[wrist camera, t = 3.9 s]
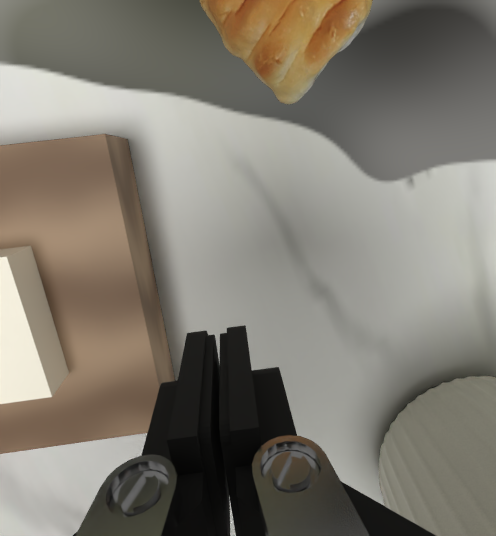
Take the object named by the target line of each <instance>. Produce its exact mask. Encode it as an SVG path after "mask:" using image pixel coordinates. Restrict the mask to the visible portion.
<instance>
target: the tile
mask: <svg viewBox="0 0 496 536" xmlns="http://www.w3.org/2000/svg"><path fill="white" fill-rule="evenodd" d="M68 374H69V371H68V368H67V365H66V361H65V358H64V355H63V351H62V348H61V345H60V341H59V338H58V335H57V331H56V328H55V325H54V321H53V318H52V315H51V311H50V308H49V305H48V301H47V298H46V295H45V291H44V288H43V285H42V281H41V278H40V275H39V271H38V268H37V265H36V261H35V258H34V255H33V251H32V248H31V246H23V247H15V248H7V249H0V404H5V403H12V402H19V401H27V400H34V399H41V398H48V397H52V396H53V395H54V394H55V392H56V391H57V389H58V388H59V386H60V385H61V384H62V382H63V381H64V379H65V378H66V377H67V375H68Z"/></svg>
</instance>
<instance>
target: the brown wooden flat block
mask: <svg viewBox="0 0 496 536" xmlns="http://www.w3.org/2000/svg"><path fill="white" fill-rule="evenodd" d="M23 246H31V248H32V251H33V255H34V258H35V261H36V265H37V268H38V271H39V275H40V278H41V281H42V285H43V288H44V291H45V295H46V298H47V301H48V305H49V308H50V311H51V315H52V318H53V321H54V325H55V328H56V331H57V335H58V338H59V341H60V345H61V348H62V351H63V355H64V358H65V361H66V365H67V368H68V371H69V374H68V375H67V377H66V378H65V379H64V381H63V382H62V384H61V385H60V386H59V388H58V389H57V391H56V392H55V394H54V395H53V396H52V397H48V398H41V399H34V400H27V401H19V402H12V403H5V404H0V454H3V453H10V452H17V451H24V450H31V449H38V448H45V447H51V446H58V445H65V444H72V443H79V442H86V441H93V440H100V439H107V438H114V437H121V436H128V435H135V434H142V433H148V430H149V426H150V422H151V418H152V414H153V411H154V407H155V403H156V399H157V395H158V392H159V388H160V385H161V383H163V382H171V381H175V377H174V372H173V366H172V361H171V356H170V351H169V346H168V341H167V336H166V331H165V326H164V321H163V316H162V311H161V306H160V301H159V296H158V291H157V286H156V281H155V276H154V271H153V266H152V260H151V255H150V250H149V245H148V240H147V235H146V230H145V225H144V220H143V215H142V210H141V205H140V200H139V195H138V190H137V185H136V180H135V175H134V170H133V165H132V159H131V154H130V149H129V144H128V139H125V138H120V137H116V136H111V135H107V134H101V135H92V136H83V137H74V138H65V139H56V140H46V141H37V142H28V143H19V144H10V145H1V146H0V249H7V248H15V247H23Z"/></svg>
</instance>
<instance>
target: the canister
mask: <svg viewBox="0 0 496 536" xmlns="http://www.w3.org/2000/svg"><path fill="white" fill-rule="evenodd" d="M378 467H379V483H380V488H381V493H382V496H383V500H384V504H385V507H387V508H389V509H390V510H392V511H394V512H396V513H397V514H399V515H401V516H403V517H404V518H406V519H408V520H410V521H411V522H413V523H415V524H417V525H419V526H420V527H422V528H424V529H426V530H427V531H429V532H431V533H433V534H434V535H436V536H496V377H491V376H479V377H476V376H468V377H466V378H463V379H458V378H457V379H454V380H452V381H450V382H447V383H441V384H440V385H438V386H437V387H434V388H429V389H428V391H427V392H425V393H424V394H422V395H418V396H417V398H416V399H415V400H414V401H412V402H411V403H408V404H407V406H406V408H405V409H404V410H403V411H402V412H400V413H398V416H397V418H396V419H395V421H393V422H392V423H391V425H390V429H389V431H388V432H387V433H386V434H385V437H384V442H383V444H382V446H381V449H380V457H379V464H378Z"/></svg>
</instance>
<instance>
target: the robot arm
mask: <svg viewBox="0 0 496 536" xmlns="http://www.w3.org/2000/svg"><path fill="white" fill-rule="evenodd" d="M229 496H230V502H231V508H232V514H233V520H234V526H235V532H236V536H436V535H434V534H433V533H431V532H429V531H427V530H426V529H424V528H422V527H420V526H419V525H417V524H415V523H413V522H411V521H410V520H408V519H406V518H404V517H403V516H401V515H399V514H397V513H396V512H394V511H392V510H390V509H389V508H387V507H385V506H383V505H381V504H380V503H378V502H376V501H374V500H373V499H371V498H369V497H367V496H366V495H364V494H362V493H360V492H359V491H357V490H355V489H353V488H352V487H350V486H348V485H346V484H344V483H343V482H341V481H340V480H339V478H338V476H337V474H336V472H335V470H334V468H333V467H332V465H331V463H330V461H329V459H328V457H327V456H326V454H325V453H324V451H323V450H322V449H321V448H320V446H318V445H317V444H316V443H314V442H313V441H311V440H309V439H306V438H304V437H301V436H297V434H296V430H295V426H294V422H293V419H292V415H291V411H290V407H289V404H288V400H287V396H286V392H285V388H284V385H283V381H282V377H281V373H280V370H279V367H275V368H268V369H261V370H253V371H252V370H251V363H250V355H249V348H248V341H247V333H246V326H238V327H230V328H227V333H223V334H220V366H219V359H218V353H217V346H216V340H215V335H208V334H207V331H199V332H192V333H187V336H186V341H185V347H184V352H183V357H182V362H181V368H180V373H179V378H178V381H171V382H163V383H161V385H160V388H159V392H158V395H157V399H156V403H155V407H154V411H153V414H152V418H151V422H150V426H149V430H148V433H147V437H146V441H145V445H144V449H143V452H142V456H139V457H136V458H134V459H131V460H128V461H127V462H125V463H124V464H122V465H120V466H119V467H117V468H116V469H115V470H114V471H113V472H112V473H111V474H110V475H109V476H108V477H107V478H106V480H105V481H104V483H103V484H102V486H101V487H100V489H99V491H98V493H97V495H96V497H95V499H94V501H93V503H92V505H91V507H90V509H89V511H88V513H87V515H86V516H85V518H84V520H83V522H82V524H81V526H80V528H79V530H78V532H76V533H75V534H74V535H73V536H230V506H229Z"/></svg>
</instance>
